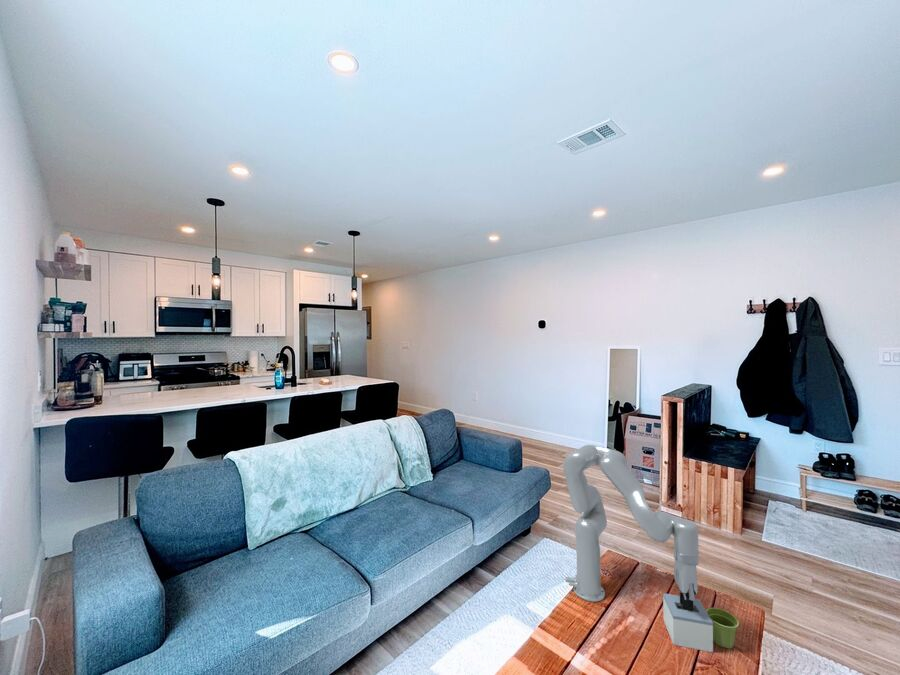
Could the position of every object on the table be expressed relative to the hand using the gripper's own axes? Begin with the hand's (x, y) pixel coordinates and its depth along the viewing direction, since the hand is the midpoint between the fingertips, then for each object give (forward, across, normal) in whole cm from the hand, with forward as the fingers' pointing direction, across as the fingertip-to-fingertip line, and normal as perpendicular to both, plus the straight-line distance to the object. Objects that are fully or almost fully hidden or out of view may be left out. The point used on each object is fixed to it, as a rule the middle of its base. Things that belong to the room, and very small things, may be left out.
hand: (686, 606), depth 133 cm
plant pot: (+10, 0, +11) cm, 15 cm away
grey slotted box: (+10, 0, 0) cm, 10 cm away
